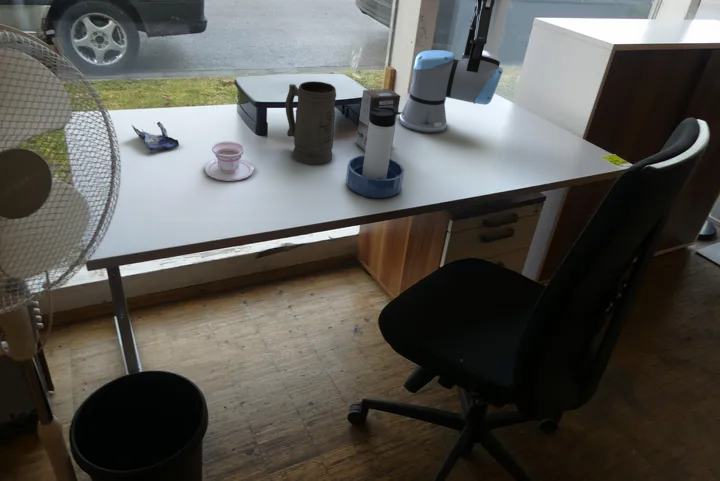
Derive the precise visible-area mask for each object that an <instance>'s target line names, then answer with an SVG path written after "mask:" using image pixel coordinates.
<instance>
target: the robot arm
mask: <svg viewBox="0 0 720 481" xmlns="http://www.w3.org/2000/svg"><path fill="white" fill-rule="evenodd" d="M510 5H511V0H475V4H474V7H473V11H472V15H471V18H470V21H469V23H470V24H469V30H468V34H467V39H466V43H465V46H464V52H463V53H462V56H461V59H456V57H455V53H453V52H452V51H448V50H441V49H430V50H424V51H421V52H419V53H418V54H417V55H416V57H415V61H414V64H413V68H412V69H413V70H412V72H413V73H412V76H411V77H412V78H411V83H410V88H409V95H408V99H407V101H406V103H405V105H404V106H403V109H402V110H401V111H398V116H399V123H400V125H402V126H403V127H405V128H407V129H409V130H412V131H415V132H421V133H425V134H426V133H427V134H428V133H429V134H433V133H440V132H443V131H444V130H445V129H446V127H447V115H446V113H447V112H446V105H445V104H446V99H447V98H448V99H451V100H452V99H453V100H459V101H463V102H468V103H472V104H478V105H482V106H483V105H485V106H486V105H488V104H490V103H491V101H492V99H493V97H494V95H495V92H496V90H497V87H498V85H499V82H500V79H501V77H502V74H503V72H504V69H503V67H501V66H500V64H501V60H500V58H499V57H498V52H499V48H500V45H501V44H500V43H501V40H502V36H503V32H504V28H505V26H506V20H507V16H508V12H509V9H510Z"/></svg>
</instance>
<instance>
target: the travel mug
mask: <svg viewBox="0 0 720 481" xmlns="http://www.w3.org/2000/svg"><path fill="white" fill-rule="evenodd" d="M398 112H399V109H398V110H395V109H393V108H389V107H378V108H374V109H373V110H372V111H371V113H370V120H369V126H368V134H367V142H366V149H365V150H364V155H365V157H364V164H363V172H362V176H365V177H368V178H372V179H386V178H387V172H388V165H389V159H391V152H392V148H391V146H392V147H393V144H392V140H393V141H394V138H393V134H394V135H395V132H394V126H395V119H396V115H397V116H399V114H398ZM395 127H396V126H395Z"/></svg>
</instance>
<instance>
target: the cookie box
mask: <svg viewBox="0 0 720 481" xmlns="http://www.w3.org/2000/svg"><path fill="white" fill-rule="evenodd" d="M400 101H401V95H400V94H399V93H397V92H395V91H393V90H392V89H391V88H382V89H363V90H362V96H361V102H360V103H361V105H360V111H359V119H358V125H357V126H358V128H357V134H356V141H355V142H356V144H357V145H358V146H359V147H360V148H361V149H363V151H365V149H366V142H367V134H368V126H369V120H370V113H371V111H372V110H373V109H374V108H378V107H389V108H393V109H395V110H398V111H399V109H400V108H399V107H400ZM397 120H398V115H396V119H395V126H394V134H393V140H392V146H391V149H392V148H393V145H394V137H395V131H396V126H397Z"/></svg>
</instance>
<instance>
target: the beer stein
mask: <svg viewBox="0 0 720 481" xmlns="http://www.w3.org/2000/svg"><path fill="white" fill-rule="evenodd" d="M295 97H297V105H296V106H297V107H296V109H295V111H294V100H295ZM285 99H286V100H285V114H286V118H287V119H286V120H287V123H288V130H287V132H286V133H287V134H286V135H287V136H288V137H293V142H294V143H293V145H294V148H293V152H292V154H293V155H292V156H293V157H294V158H295V160H297V161H299V162H301V163H304V164H308V165H323V164H326V163H329V162H330V161H331V160H332V158H333V151H332V150H333V149H334V148H333V147H334V137H335V122H336V110H335V108H336V104H335V102H336V99H337V90H336V87H335V86H334V85H333V84H331V83H328V82H323V81H315V80H314V81H312V80H311V81H304V82H302V83H300V84H299V86H297V85H296V84H294V83H290V84H289V85H288V92H287V96H286V98H285ZM294 112H295V113H294Z"/></svg>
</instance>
